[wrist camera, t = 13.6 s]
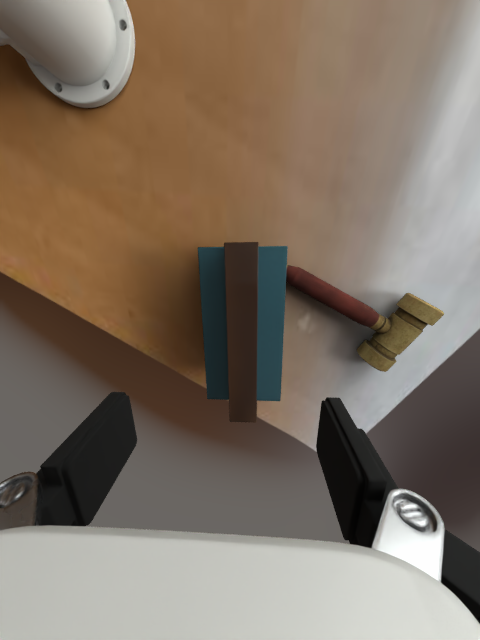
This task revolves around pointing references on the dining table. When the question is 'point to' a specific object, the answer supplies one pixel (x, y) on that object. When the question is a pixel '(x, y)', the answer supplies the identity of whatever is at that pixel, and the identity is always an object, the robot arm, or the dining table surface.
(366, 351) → the gavel
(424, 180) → the dining table surface
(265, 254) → the teal rectangular block
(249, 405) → the stick
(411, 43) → the dining table surface
